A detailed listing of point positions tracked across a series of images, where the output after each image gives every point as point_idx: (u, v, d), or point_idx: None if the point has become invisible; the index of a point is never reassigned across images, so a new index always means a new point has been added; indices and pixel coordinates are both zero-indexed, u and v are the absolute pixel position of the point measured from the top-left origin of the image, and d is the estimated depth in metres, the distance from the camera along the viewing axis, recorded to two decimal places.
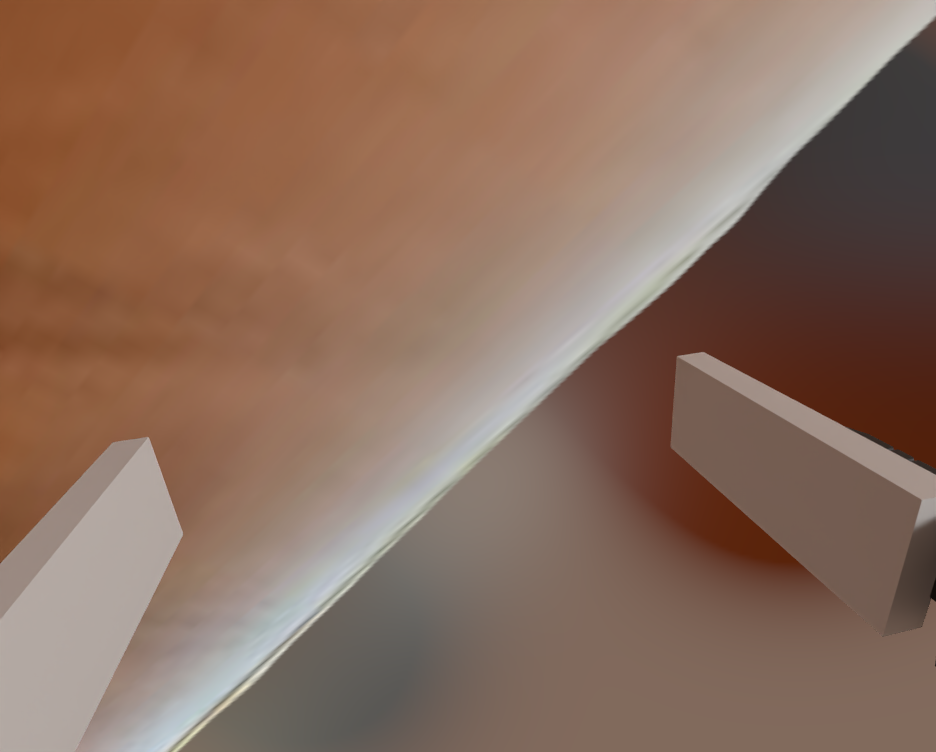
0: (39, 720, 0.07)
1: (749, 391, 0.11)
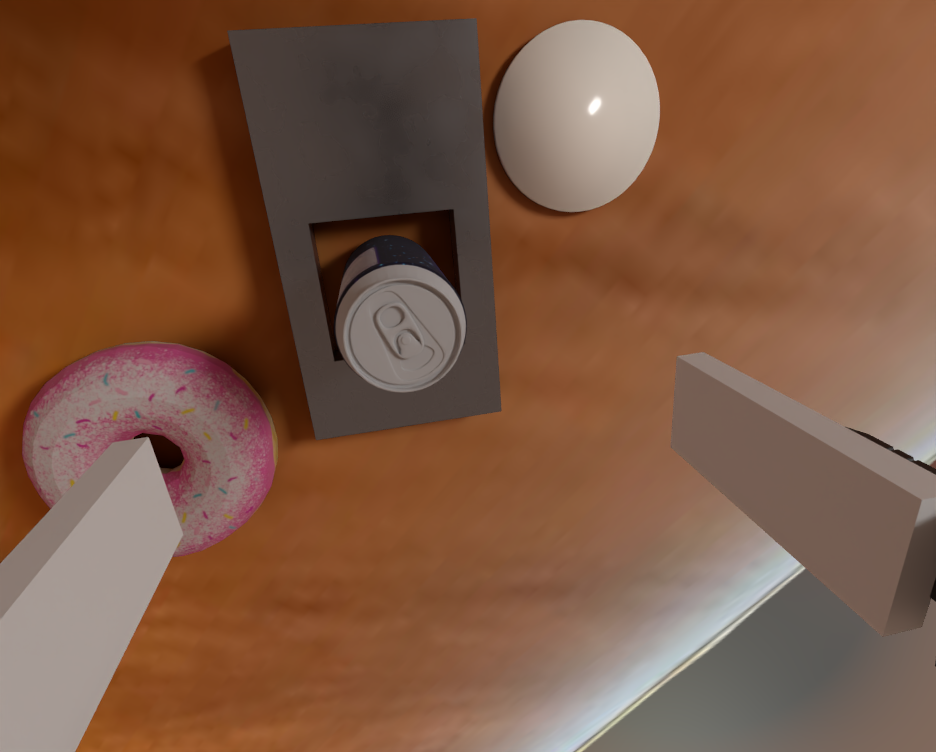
0: (39, 720, 0.07)
1: (749, 391, 0.11)
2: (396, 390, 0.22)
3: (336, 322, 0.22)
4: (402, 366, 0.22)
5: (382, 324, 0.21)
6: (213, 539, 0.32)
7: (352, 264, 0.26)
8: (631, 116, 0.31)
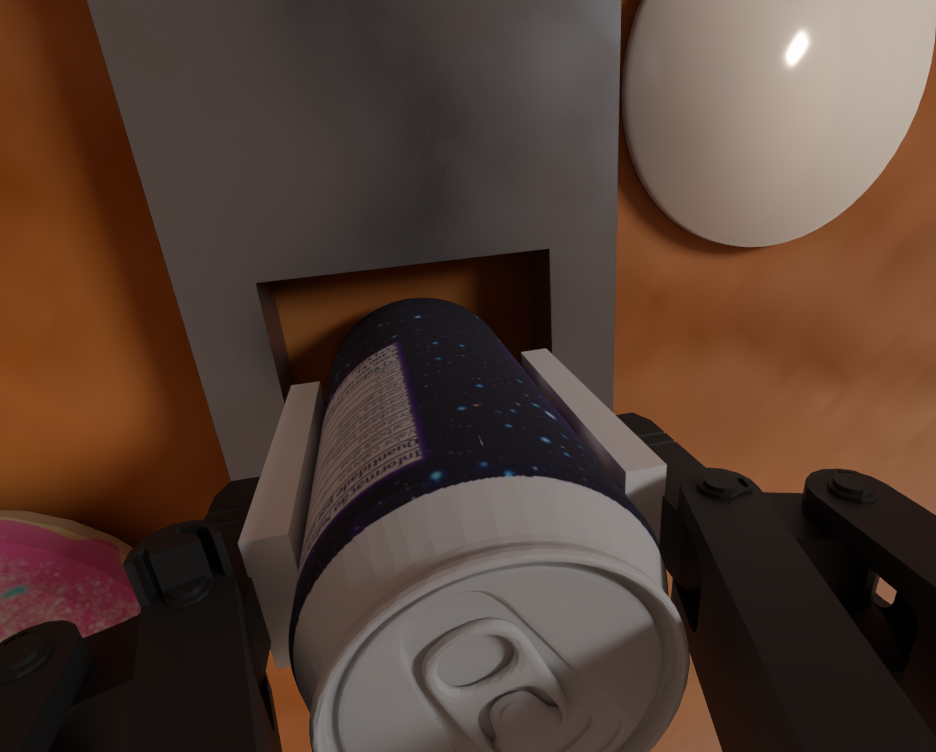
0: None
1: (558, 382, 0.13)
2: None
3: (295, 648, 0.07)
4: None
5: (444, 686, 0.06)
6: None
7: (347, 389, 0.11)
8: (881, 67, 0.16)
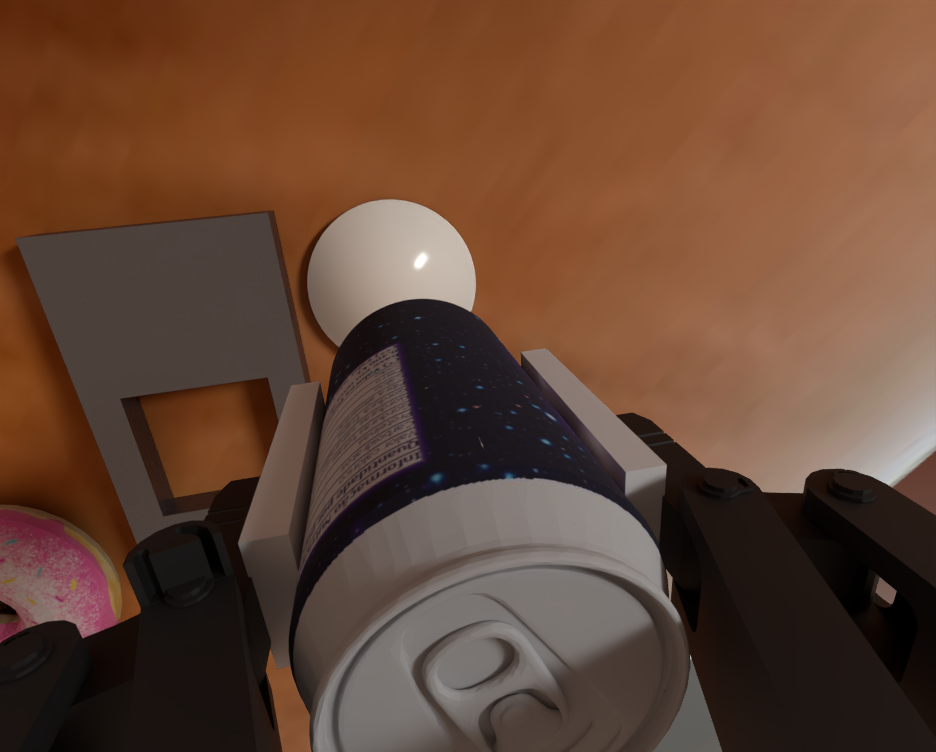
0: None
1: (558, 382, 0.13)
2: None
3: (295, 651, 0.07)
4: None
5: (443, 689, 0.06)
6: None
7: (347, 390, 0.11)
8: (446, 279, 0.32)
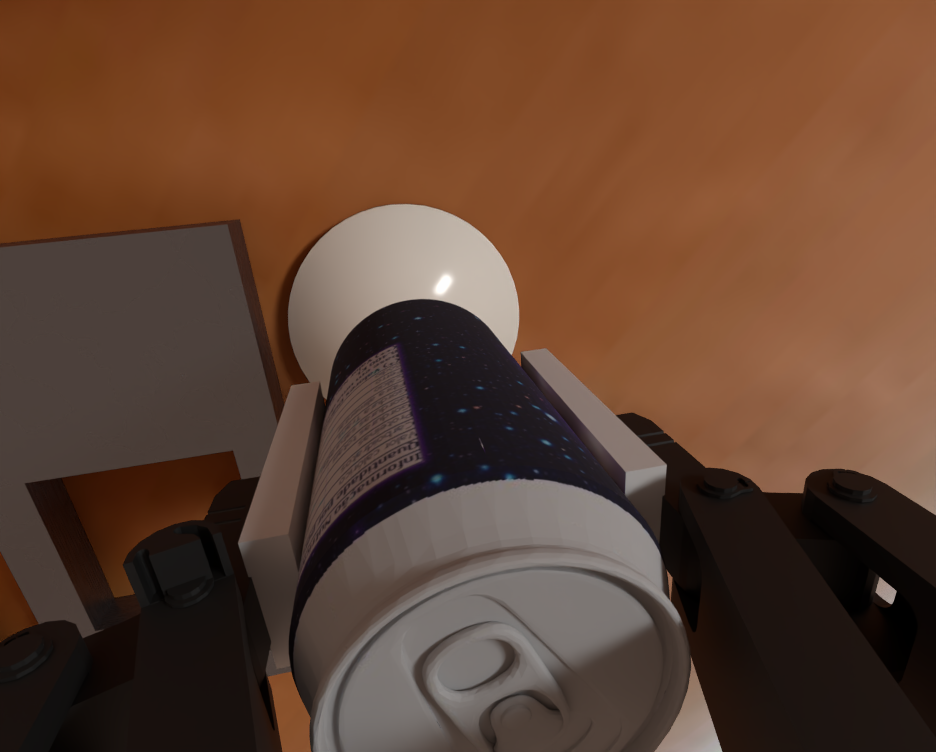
0: None
1: (558, 382, 0.13)
2: None
3: (295, 652, 0.07)
4: None
5: (444, 690, 0.06)
6: None
7: (347, 391, 0.11)
8: (480, 314, 0.23)
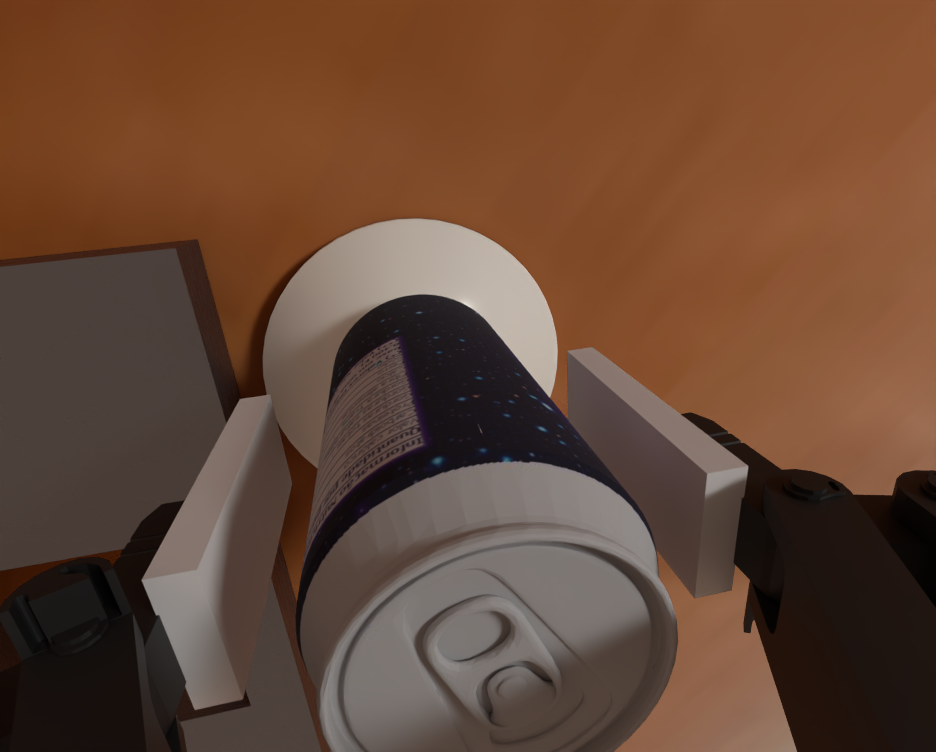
0: (240, 603, 0.09)
1: (614, 382, 0.12)
2: None
3: (302, 625, 0.07)
4: (493, 737, 0.08)
5: (443, 659, 0.07)
6: None
7: (350, 382, 0.12)
8: None
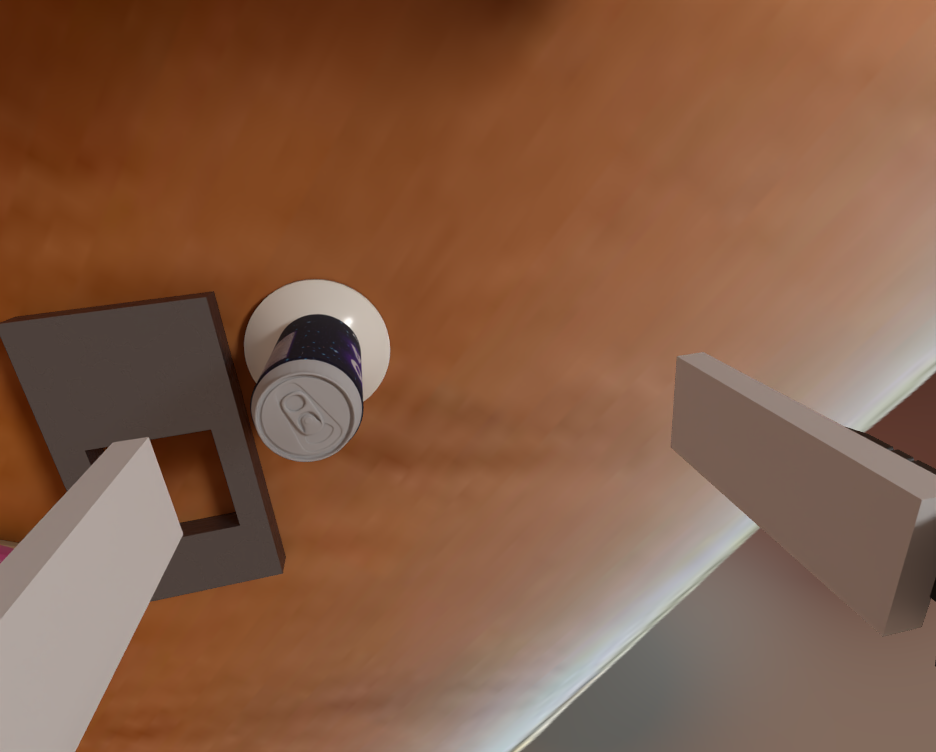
0: (39, 720, 0.07)
1: (749, 391, 0.11)
2: (302, 460, 0.27)
3: (251, 406, 0.27)
4: (307, 440, 0.27)
5: (287, 409, 0.26)
6: None
7: (275, 348, 0.31)
8: (364, 343, 0.38)
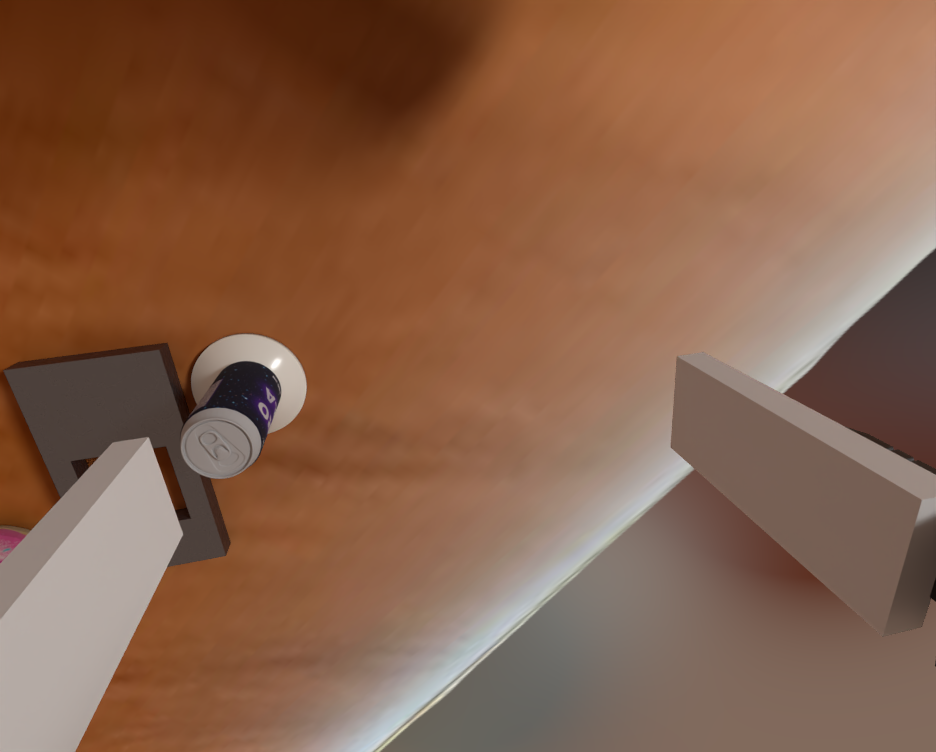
0: (39, 720, 0.07)
1: (749, 391, 0.11)
2: (217, 477, 0.38)
3: (180, 439, 0.38)
4: (220, 463, 0.38)
5: (204, 442, 0.37)
6: None
7: (206, 392, 0.42)
8: (285, 381, 0.49)
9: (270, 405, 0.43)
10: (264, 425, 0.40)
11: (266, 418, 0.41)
